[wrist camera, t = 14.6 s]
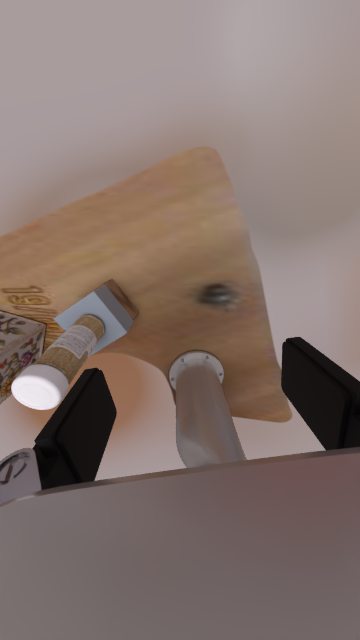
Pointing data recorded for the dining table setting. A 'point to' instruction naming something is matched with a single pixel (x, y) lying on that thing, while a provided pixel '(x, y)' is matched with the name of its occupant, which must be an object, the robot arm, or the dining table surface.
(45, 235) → the dining table surface
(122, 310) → the slate top block
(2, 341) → the decorative jar
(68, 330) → the sprinkles bottle
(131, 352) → the dining table surface
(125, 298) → the walnut base block
